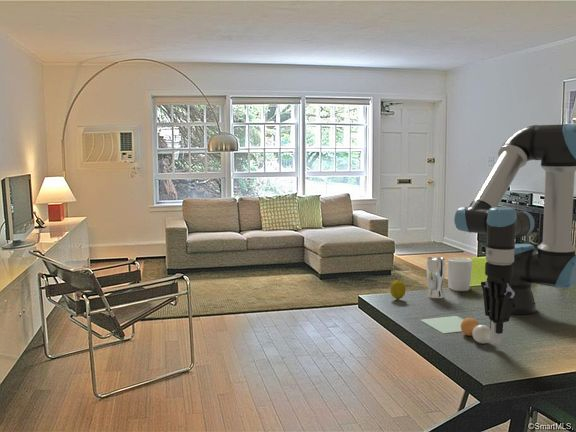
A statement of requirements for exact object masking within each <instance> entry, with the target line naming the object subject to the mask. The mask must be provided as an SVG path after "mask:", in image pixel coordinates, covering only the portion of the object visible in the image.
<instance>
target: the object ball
mask: <svg viewBox="0 0 576 432" xmlns="http://www.w3.org/2000/svg"><path fill="white" fill-rule="evenodd" d="M477 325H480V322H478V320H476V319H475V318H473V317H465V318H463V321H462V323H461V330H462V333H463V334H465V335H466V336H468V337H473V335H472V332H473V329H474V328H475V327H476V326H477Z"/></svg>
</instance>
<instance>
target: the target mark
mask: <svg viewBox="0 0 576 432" xmlns="http://www.w3.org/2000/svg"><path fill="white" fill-rule="evenodd" d="M463 320H464V318H462V317H460V316H457V315H452V316H444V317H443V316H442V317H433V318H423V319H419V321H421V322H422V323H424V324H426V325H427V326H429V327H431V328H433V329H434V330H436V331H438V332H439V333H441V334H444V335H445V334H451V333H452V334H453V333H461V332H462V330H461V323H462V321H463ZM462 333H463V332H462Z"/></svg>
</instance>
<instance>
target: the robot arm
mask: <svg viewBox="0 0 576 432" xmlns="http://www.w3.org/2000/svg"><path fill="white" fill-rule="evenodd" d="M497 156H498V157H497V160H496V161H495V163H494V164H493V166H492V168H491V170H490V171H489V173H488V174H487V176H486V178H485V179H484V181H483V183H482V185H481V186H480V188H479V189H478V191H477V193H476V194H475V196H474V197H473V199H472V201H471V203H470V204H469V206H462V207H461V206H460V207H458V209H457V210H456V211H455V214H454V217H453V219H454V226H455V228H456V229H457V230H458V231H461V232H464V233H465V232H466V233H475V234H477V233H478V234H485V235H486V243H485V246H486V248H485V250H486V251H485V260H486V262H485V265H484V275H486V277H487V278H486V280H485V281H481V282H480V286H481V289H482V294H483V295H482V296H483V307H484V314H485V316H486V317H488V318H489V328H490V330H491V333H490V341H489V343H490V344H492V345H498V344H499V345H500V344H502V341H503V340H502V339H503V338H502V337H503V332H504V323H507V322H510V318H511V315H530V314H534V313H535V312H536V311H537V309H536V307H537V304H536V301H535V297H534V294H533V293H534V292H533V291H532V290H533V289H532V284H534V285H535V284H536V285H540V286H545V287H552V288H556V289H571V288H573V287H574V286H575V285H576V247H575V246H574V245H573V244H572V234H573V233H572V231H573V230H572V228H573V210H574V191H575V190H574V189H575V172H576V124H571V123H570V124H568V123H564V124H563V123H562V124H535V125H534V124H533V125H528V126H526V127H523V128H521V129H520V130H517V131H516V132H515V133H513V134H512V135H511V136H509V138H507V139H506V140H505V141H504V143H502V145H501V147H500V149H499V150H498V153H497ZM529 161H540V167H541V168H542V169H543V170H544V171H545V178H544V179H545V180H544V200H543V202H544V205H543V225H542V227H543V228H542V229H543V230H542V241H541V243H540V244H539V245H537V249H535V246H534V244H530V243H516V239H518V238H524V237H525V236H528V235H529V234H530V233H532V232H533V230H534V228H535V218H534V217H533V215H532V214H531V213H530V212H529V211H526V210H516V209H515V207H514V208H513V207H509V206H499V205H500V204H501V201H503V198H504V196H505V195H506V193H507V191H508V190H509V188H510V186H511V185H512V182H513V181H514V180H515V177H516V175H517V174H518V172H519V170H520V169H521V168H523V167H524V166H526V165H527V163H528V162H529Z"/></svg>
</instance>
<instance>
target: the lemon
mask: <svg viewBox="0 0 576 432" xmlns="http://www.w3.org/2000/svg"><path fill="white" fill-rule="evenodd" d="M390 294H391V296H392V297H393V298H394V299H395V300H396V301H399V300H401V299H402V298H403V297H404V296H405V294H406V285H405V283H404V282H403V281H401V280H400V279H395V280H394V281H393V282H392V283H391V285H390Z"/></svg>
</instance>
